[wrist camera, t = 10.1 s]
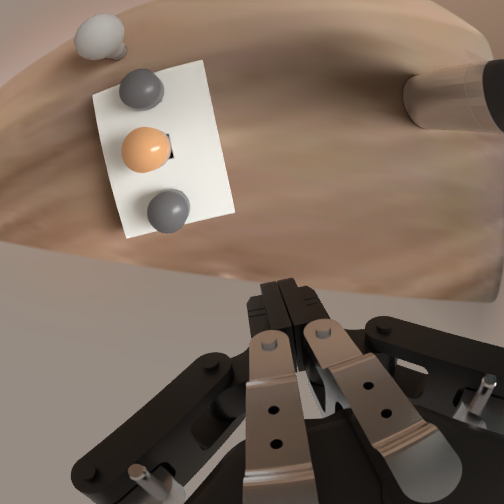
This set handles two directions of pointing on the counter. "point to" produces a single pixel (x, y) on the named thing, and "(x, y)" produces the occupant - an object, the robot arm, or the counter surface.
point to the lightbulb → (101, 38)
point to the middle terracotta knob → (145, 149)
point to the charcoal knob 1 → (141, 90)
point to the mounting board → (183, 146)
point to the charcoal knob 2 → (168, 210)
